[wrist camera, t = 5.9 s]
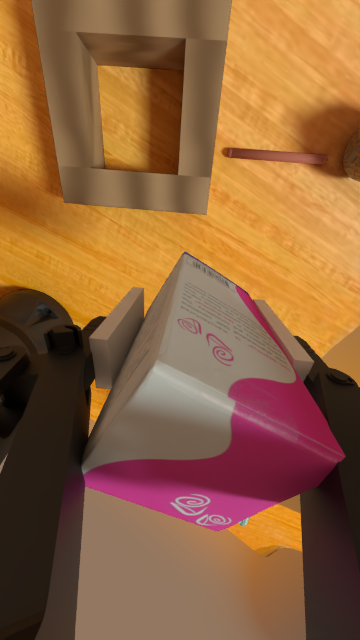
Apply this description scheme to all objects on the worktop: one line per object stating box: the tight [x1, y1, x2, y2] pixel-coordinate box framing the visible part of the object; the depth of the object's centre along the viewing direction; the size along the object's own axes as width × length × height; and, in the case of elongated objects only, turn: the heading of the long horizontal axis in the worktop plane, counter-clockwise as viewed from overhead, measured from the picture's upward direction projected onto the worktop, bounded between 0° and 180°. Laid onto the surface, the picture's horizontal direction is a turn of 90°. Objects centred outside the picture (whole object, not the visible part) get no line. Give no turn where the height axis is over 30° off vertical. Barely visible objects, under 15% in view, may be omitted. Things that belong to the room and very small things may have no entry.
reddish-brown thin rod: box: [227, 148, 327, 165], centre depth 27 cm, size 13×1×1 cm, turn 86°
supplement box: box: [81, 252, 345, 531], centre depth 10 cm, size 6×6×12 cm
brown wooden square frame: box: [31, 0, 232, 215], centre depth 25 cm, size 19×19×5 cm
